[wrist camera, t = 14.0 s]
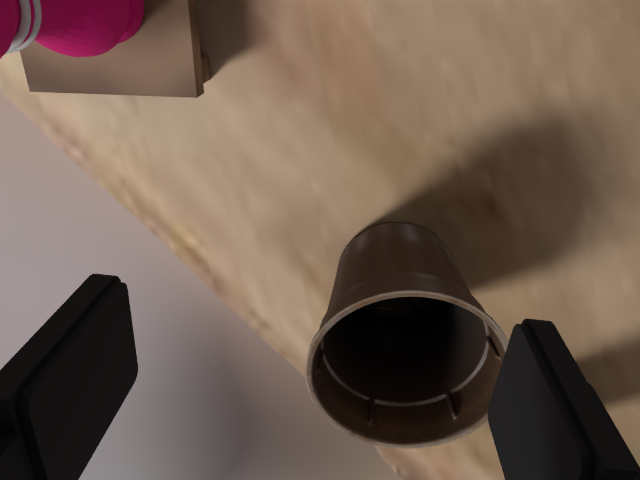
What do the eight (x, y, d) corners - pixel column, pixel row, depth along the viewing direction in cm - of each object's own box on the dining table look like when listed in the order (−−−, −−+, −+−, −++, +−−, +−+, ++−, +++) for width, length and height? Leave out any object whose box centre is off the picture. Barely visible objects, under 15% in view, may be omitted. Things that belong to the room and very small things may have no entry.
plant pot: (467, 332, 55) (505, 451, 41) (325, 335, 57) (314, 451, 42) (476, 199, 48) (526, 288, 33) (313, 207, 49) (294, 294, 35)
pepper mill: (50, 28, 37) (-229, 59, 20) (63, -75, 34) (-258, -150, 16) (140, 65, 38) (-49, 127, 20) (161, -32, 35) (-44, -59, 17)
